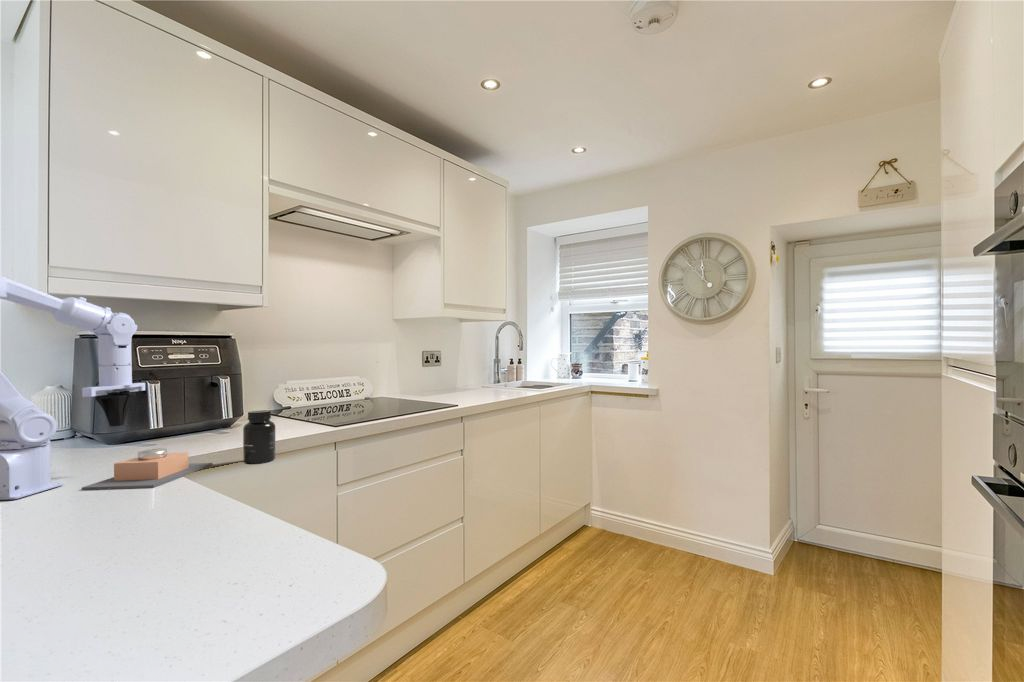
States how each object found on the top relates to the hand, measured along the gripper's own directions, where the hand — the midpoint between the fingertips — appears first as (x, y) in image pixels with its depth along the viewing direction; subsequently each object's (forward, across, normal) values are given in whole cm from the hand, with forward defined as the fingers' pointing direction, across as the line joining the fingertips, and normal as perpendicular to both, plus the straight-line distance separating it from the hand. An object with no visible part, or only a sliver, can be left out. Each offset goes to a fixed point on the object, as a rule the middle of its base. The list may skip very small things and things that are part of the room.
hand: (116, 425), depth 104 cm
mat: (+10, -5, -12) cm, 17 cm away
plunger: (+10, -5, -12) cm, 16 cm away
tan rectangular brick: (+10, -5, -12) cm, 17 cm away
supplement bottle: (+11, +6, -29) cm, 31 cm away
